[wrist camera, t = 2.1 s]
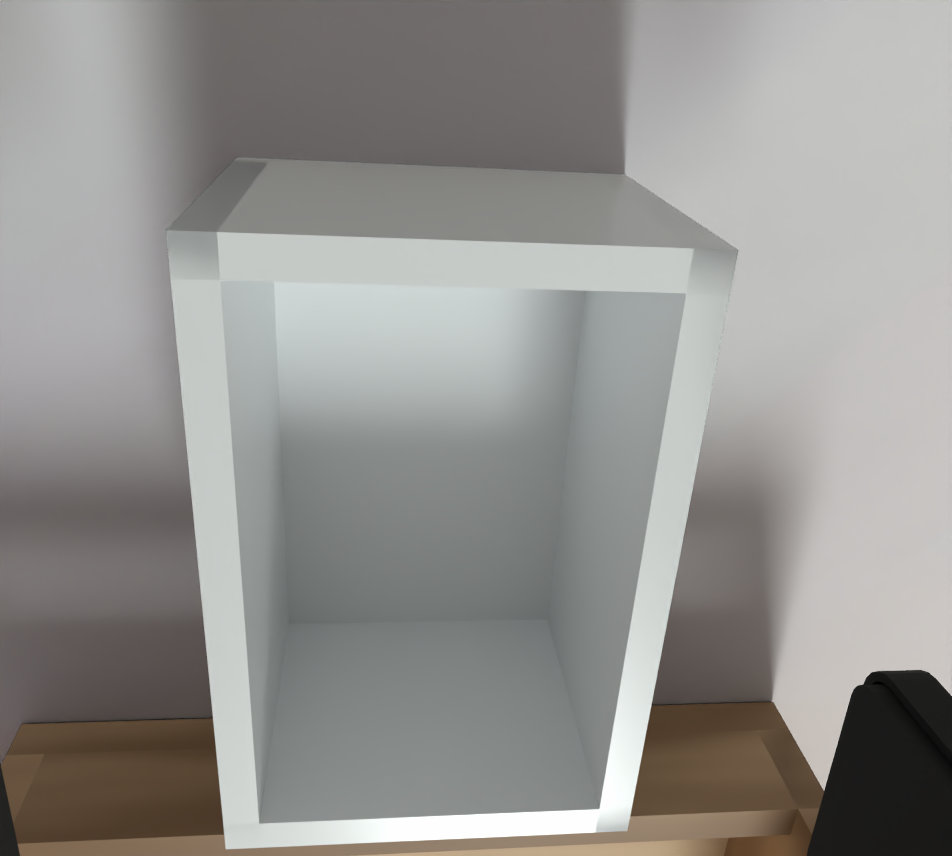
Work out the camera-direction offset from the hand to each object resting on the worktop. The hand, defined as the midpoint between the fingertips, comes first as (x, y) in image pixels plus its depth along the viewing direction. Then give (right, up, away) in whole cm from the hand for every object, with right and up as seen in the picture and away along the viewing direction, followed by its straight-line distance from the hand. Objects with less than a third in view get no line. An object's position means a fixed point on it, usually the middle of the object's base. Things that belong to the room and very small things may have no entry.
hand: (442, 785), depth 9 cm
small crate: (-1, +4, +6) cm, 7 cm away
